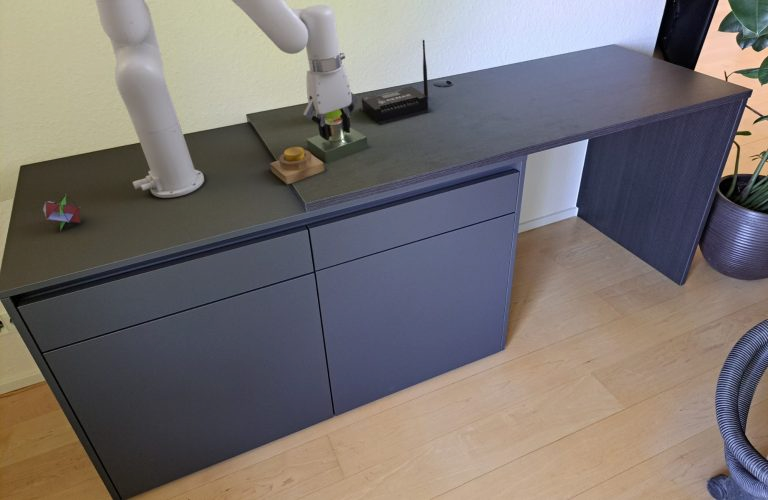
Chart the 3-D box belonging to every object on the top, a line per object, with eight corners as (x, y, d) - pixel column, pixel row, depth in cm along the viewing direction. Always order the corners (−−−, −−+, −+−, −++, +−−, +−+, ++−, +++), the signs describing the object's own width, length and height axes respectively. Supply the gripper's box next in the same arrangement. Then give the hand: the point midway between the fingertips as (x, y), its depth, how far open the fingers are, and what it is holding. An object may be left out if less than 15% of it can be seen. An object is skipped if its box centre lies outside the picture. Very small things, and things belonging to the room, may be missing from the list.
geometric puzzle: (93, 205, 125) (59, 183, 121) (85, 220, 120) (49, 198, 116) (75, 225, 127) (41, 204, 123) (66, 241, 122) (30, 220, 118)
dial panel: (326, 162, 137) (324, 151, 135) (308, 149, 144) (306, 138, 142) (367, 147, 142) (366, 136, 140) (348, 135, 149) (346, 124, 147)
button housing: (287, 184, 130) (283, 169, 127) (271, 171, 136) (268, 156, 134) (324, 170, 134) (322, 155, 131) (307, 158, 140) (305, 143, 138)
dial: (332, 143, 139) (330, 125, 136) (324, 137, 142) (321, 119, 139) (348, 137, 141) (345, 119, 138) (339, 132, 144) (336, 114, 141)
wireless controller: (379, 125, 153) (373, 62, 143) (360, 109, 164) (353, 50, 154) (443, 108, 158) (441, 47, 149) (421, 94, 169) (418, 36, 159)
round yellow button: (290, 164, 130) (289, 157, 129) (282, 157, 133) (281, 150, 132) (308, 157, 132) (306, 151, 131) (299, 151, 135) (298, 145, 134)
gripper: (348, 51, 136) (356, 121, 147) (285, 68, 130) (299, 140, 140) (364, 57, 131) (372, 129, 142) (299, 76, 124) (312, 150, 135)
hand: (335, 134), depth 141 cm, fingers open, 5 cm apart
